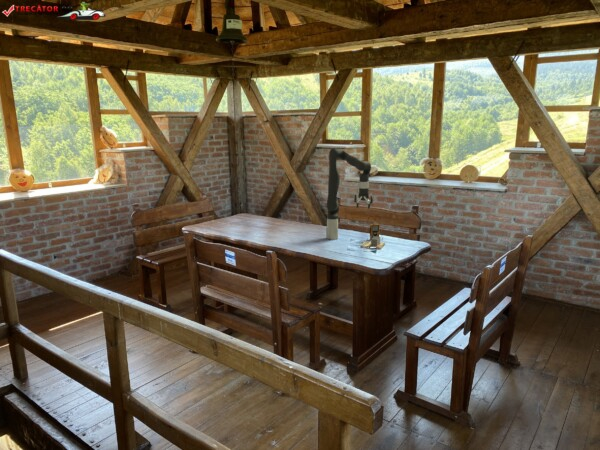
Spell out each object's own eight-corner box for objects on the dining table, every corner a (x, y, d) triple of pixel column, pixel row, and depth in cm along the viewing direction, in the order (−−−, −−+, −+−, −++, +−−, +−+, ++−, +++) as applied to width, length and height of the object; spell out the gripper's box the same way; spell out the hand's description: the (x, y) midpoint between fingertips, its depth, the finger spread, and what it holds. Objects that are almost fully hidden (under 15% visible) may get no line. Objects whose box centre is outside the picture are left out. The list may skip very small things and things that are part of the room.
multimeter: (369, 242, 362) (370, 218, 358) (365, 239, 371) (366, 216, 367) (386, 241, 364) (387, 217, 360) (382, 238, 374) (382, 215, 370)
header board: (360, 247, 346) (360, 241, 345) (365, 243, 360) (365, 236, 359) (380, 249, 340) (380, 242, 339) (385, 244, 354) (385, 238, 353)
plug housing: (370, 245, 345) (371, 239, 344) (374, 242, 355) (374, 236, 354) (377, 246, 343) (377, 239, 342) (380, 242, 353) (380, 236, 352)
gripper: (353, 187, 342) (353, 208, 345) (371, 188, 337) (371, 209, 340) (356, 186, 349) (355, 206, 352) (374, 187, 343) (373, 208, 347)
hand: (363, 208), depth 346 cm, fingers open, 8 cm apart
